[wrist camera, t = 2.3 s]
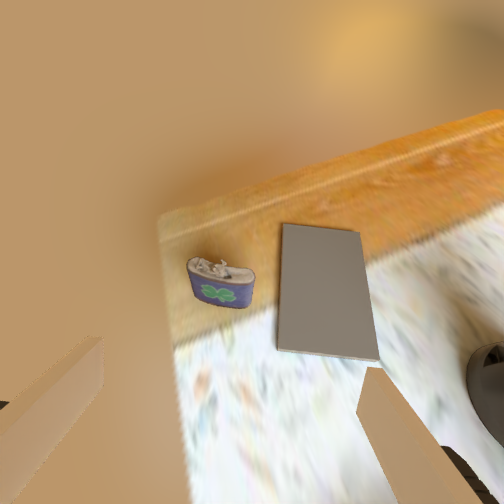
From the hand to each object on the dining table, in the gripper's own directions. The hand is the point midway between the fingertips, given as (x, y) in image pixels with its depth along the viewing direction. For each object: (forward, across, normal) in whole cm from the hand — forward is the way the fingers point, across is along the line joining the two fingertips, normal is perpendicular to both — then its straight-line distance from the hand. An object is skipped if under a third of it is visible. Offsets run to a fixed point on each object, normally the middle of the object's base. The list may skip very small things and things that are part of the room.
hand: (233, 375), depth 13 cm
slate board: (+29, +13, -4) cm, 32 cm away
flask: (+27, -3, -8) cm, 28 cm away
